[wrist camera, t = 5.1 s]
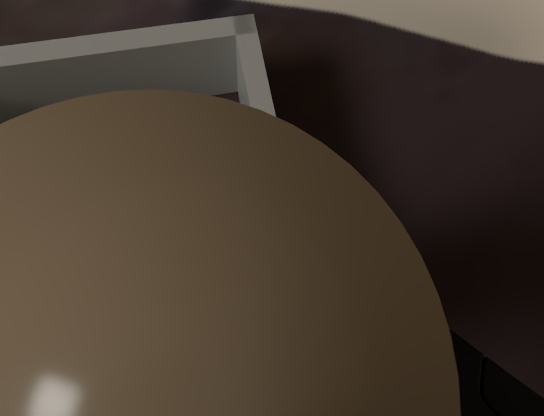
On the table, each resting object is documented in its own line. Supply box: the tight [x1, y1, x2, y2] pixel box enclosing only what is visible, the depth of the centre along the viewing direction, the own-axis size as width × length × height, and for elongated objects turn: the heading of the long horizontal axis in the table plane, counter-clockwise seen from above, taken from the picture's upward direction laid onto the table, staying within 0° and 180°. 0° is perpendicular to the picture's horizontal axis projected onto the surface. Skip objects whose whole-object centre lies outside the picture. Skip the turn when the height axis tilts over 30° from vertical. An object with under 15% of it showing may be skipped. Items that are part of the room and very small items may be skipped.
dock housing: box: [0, 14, 276, 124], centre depth 20 cm, size 12×16×5 cm
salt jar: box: [0, 89, 461, 416], centre depth 9 cm, size 5×5×12 cm
